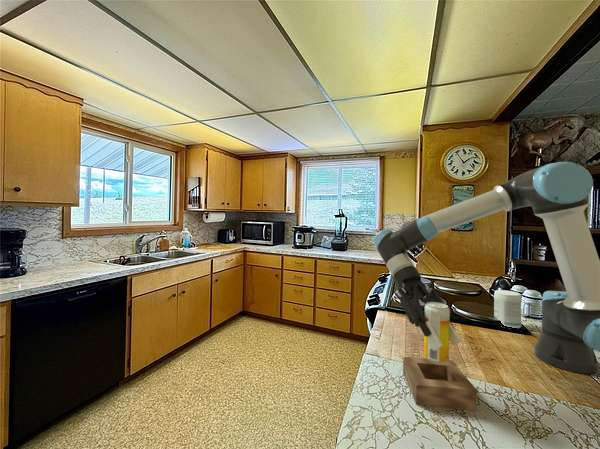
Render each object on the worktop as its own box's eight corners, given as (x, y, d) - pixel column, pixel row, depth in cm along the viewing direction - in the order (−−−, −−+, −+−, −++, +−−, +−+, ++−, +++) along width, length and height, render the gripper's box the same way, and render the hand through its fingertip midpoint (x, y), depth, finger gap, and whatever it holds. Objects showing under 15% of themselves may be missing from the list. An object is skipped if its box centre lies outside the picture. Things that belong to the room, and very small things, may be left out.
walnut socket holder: (452, 377, 79) (452, 360, 79) (476, 410, 66) (476, 390, 65) (403, 373, 81) (403, 356, 81) (416, 404, 68) (416, 384, 67)
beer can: (449, 357, 74) (450, 303, 74) (447, 367, 69) (448, 310, 69) (425, 351, 78) (426, 300, 77) (422, 360, 72) (423, 305, 72)
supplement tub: (524, 326, 118) (525, 293, 118) (516, 331, 113) (516, 296, 113) (498, 319, 127) (499, 288, 126) (489, 323, 121) (490, 291, 121)
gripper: (419, 276, 91) (464, 345, 76) (373, 280, 84) (412, 357, 69) (433, 263, 86) (483, 334, 71) (384, 266, 79) (429, 346, 64)
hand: (448, 345), depth 70 cm, fingers closed on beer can, 6 cm apart
